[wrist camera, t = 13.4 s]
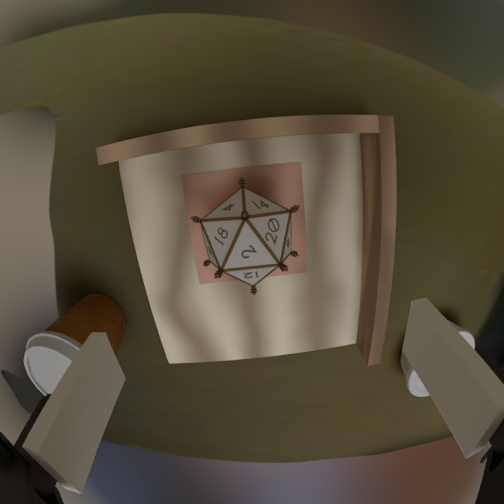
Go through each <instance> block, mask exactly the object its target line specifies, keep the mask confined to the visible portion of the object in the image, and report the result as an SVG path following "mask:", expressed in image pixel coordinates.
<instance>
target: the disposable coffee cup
mask: <svg viewBox="0 0 504 504" xmlns="http://www.w3.org/2000/svg"><path fill="white" fill-rule="evenodd" d="M125 327H126V318H125V314H124V312H123V310H122V309H121V307H120V306H119V305H118V304H117V303H116V302H115V301H114V300H113V299H111V298H109V297H107V296H105V295H102V294H90V295H88V296H86V297H85V298H84V299H82V300H81V301H80V302H79V303H78V304H76V305H75V306H74V307H73V308H71V309H70V310H69V311H68V312H66V313H65V314H64V315H63V316H61V317H60V318H59V319H58V320H57V321H55V322H54V323H53V324H52V325H51V326H50V327H48V328H47V329H46V330H45V331H44V332H41V333H37V334H35V335H34V336H32V337H31V338H30V339H29V340H28V342H27V346H26V352H25V355H24V365H25V368H26V371H27V373H28V375H29V377H30V379H31V380H32V382H33V383H34V385H35V386H36V387H37V388H38V389H39V390H40V391H41V392H42V393H43V394H44V395H45V396H46V395H47V394H52V393H53V391H54V389H55V388H56V386H57V384H58V383H59V381H60V380H61V378H62V376H63V375H64V373H65V372H66V370H67V369H68V367H69V365H70V364H71V362H72V361H73V359H74V358H75V356H76V355H77V353H78V352H79V350H80V349H81V347H82V346H83V344H84V343H85V341H86V340H87V338H88V337H89V335H90V334H91V332H106V335H107V337H108V340H109V342H110V344H111V347H112V349H113V352H114V354H115V356H117V352H118V349H119V346H120V343H121V340H122V337H123V333H124V330H125Z"/></svg>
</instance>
